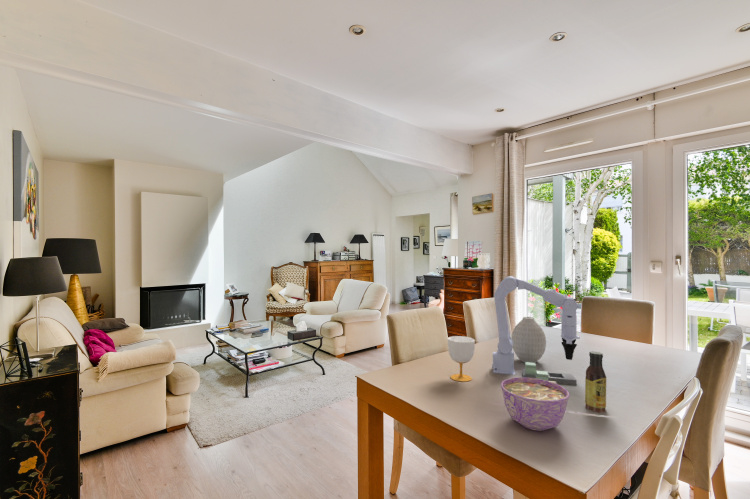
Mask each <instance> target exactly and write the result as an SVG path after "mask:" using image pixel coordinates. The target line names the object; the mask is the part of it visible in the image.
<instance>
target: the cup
mask: <svg viewBox="0 0 750 499" xmlns="http://www.w3.org/2000/svg"><path fill="white" fill-rule="evenodd" d="M475 343H476V340H475V339H474V338H473V337H470V336H465V335H462V336H461V335H459V336H458V335H452V336H449V337H447V348H448V350H447V351H448V353H449V354H448V355H449V357H450V358H451V359H452V361H454V362H455V363H458V364H459V373H456V374H452V375H450V379H451V380H453V381H456V382H460V383H461V382H462V383H465V382H471V381H472V380H473V378H472V377H471V376H470V375H467V374H464V373H463V365H464V364H467V363H468V362H470V361H471V360H472V359H473V357H474V353H475V346H476V344H475Z"/></svg>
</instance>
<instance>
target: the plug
mask: <svg viewBox="0 0 750 499" xmlns="http://www.w3.org/2000/svg"><path fill="white" fill-rule="evenodd" d="M547 372H548V371H544V370H543V371H542V370H536V379H541V380H546V381H548V378H549V376H548V373H547Z"/></svg>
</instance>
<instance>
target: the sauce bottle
mask: <svg viewBox="0 0 750 499" xmlns="http://www.w3.org/2000/svg"><path fill="white" fill-rule="evenodd" d="M588 355H589V365H588V366H587V368H586V370H585V384H584V386H585V388H584V389H585V390H584V391H585V392H584V403H585V408H586V409H588V410H589V411H592V412H595V413H597V412H598V413H604V412H605V411H606V408H607V376H606V372H605V370H604V367H603V357H604V354H603V353H602V352H600V351H599V352H598V351H594V350H593V351H589V354H588Z"/></svg>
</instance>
